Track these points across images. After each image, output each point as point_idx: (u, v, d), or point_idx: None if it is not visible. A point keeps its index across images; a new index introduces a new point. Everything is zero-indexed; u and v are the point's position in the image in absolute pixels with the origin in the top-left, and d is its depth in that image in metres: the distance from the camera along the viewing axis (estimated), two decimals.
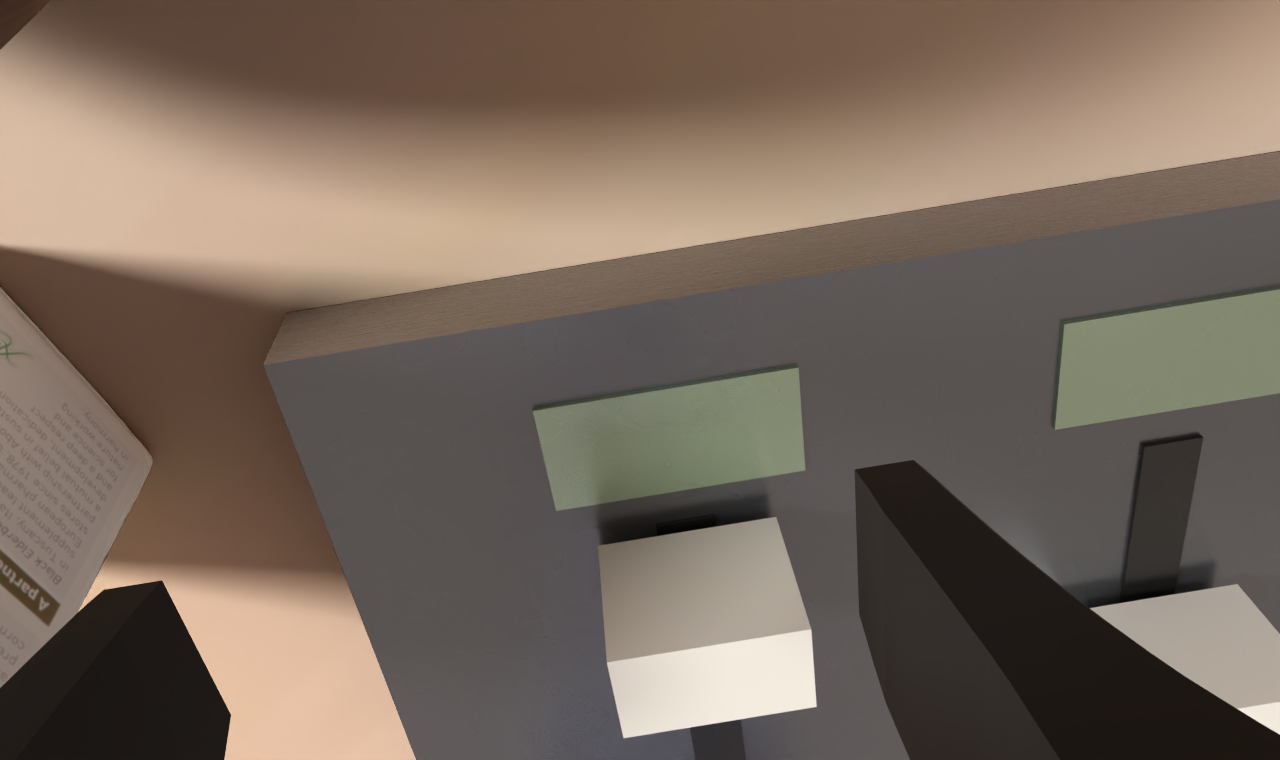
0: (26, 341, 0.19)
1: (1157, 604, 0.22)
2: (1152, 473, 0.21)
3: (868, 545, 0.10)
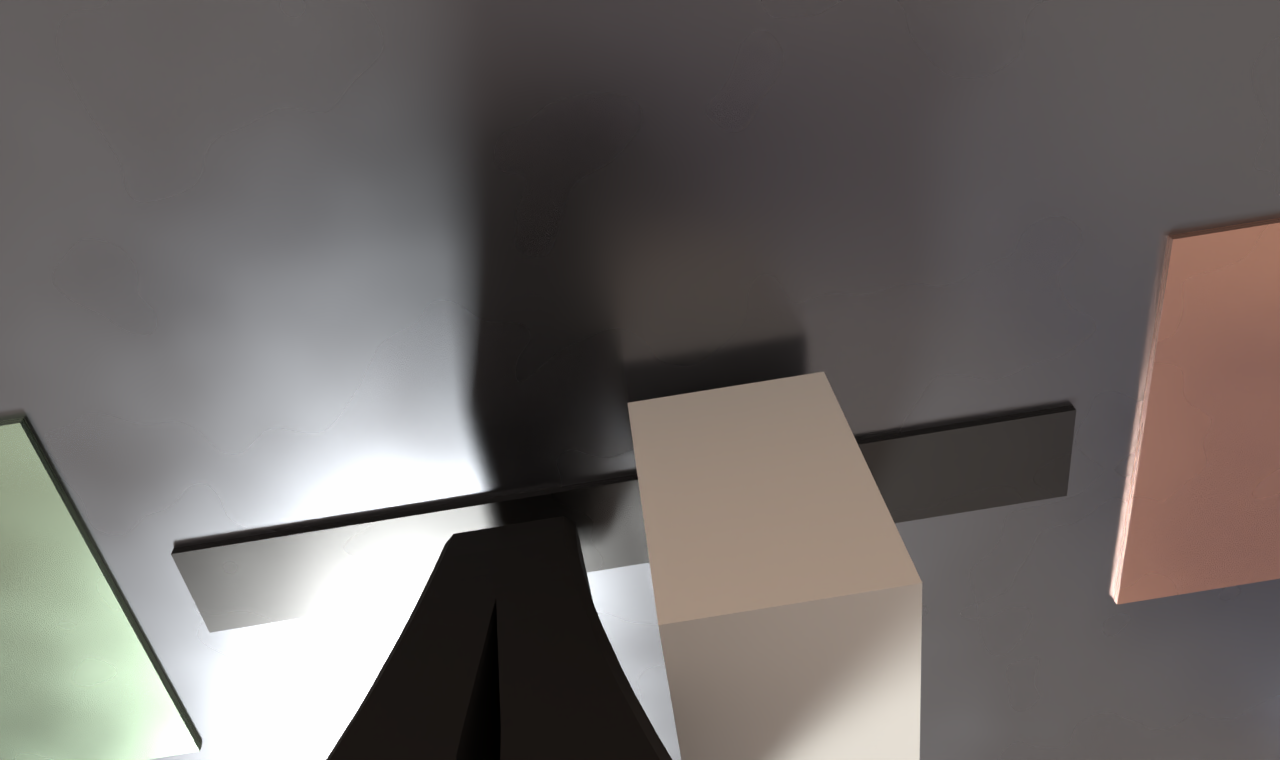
0: None
1: None
2: (273, 595, 0.12)
3: None
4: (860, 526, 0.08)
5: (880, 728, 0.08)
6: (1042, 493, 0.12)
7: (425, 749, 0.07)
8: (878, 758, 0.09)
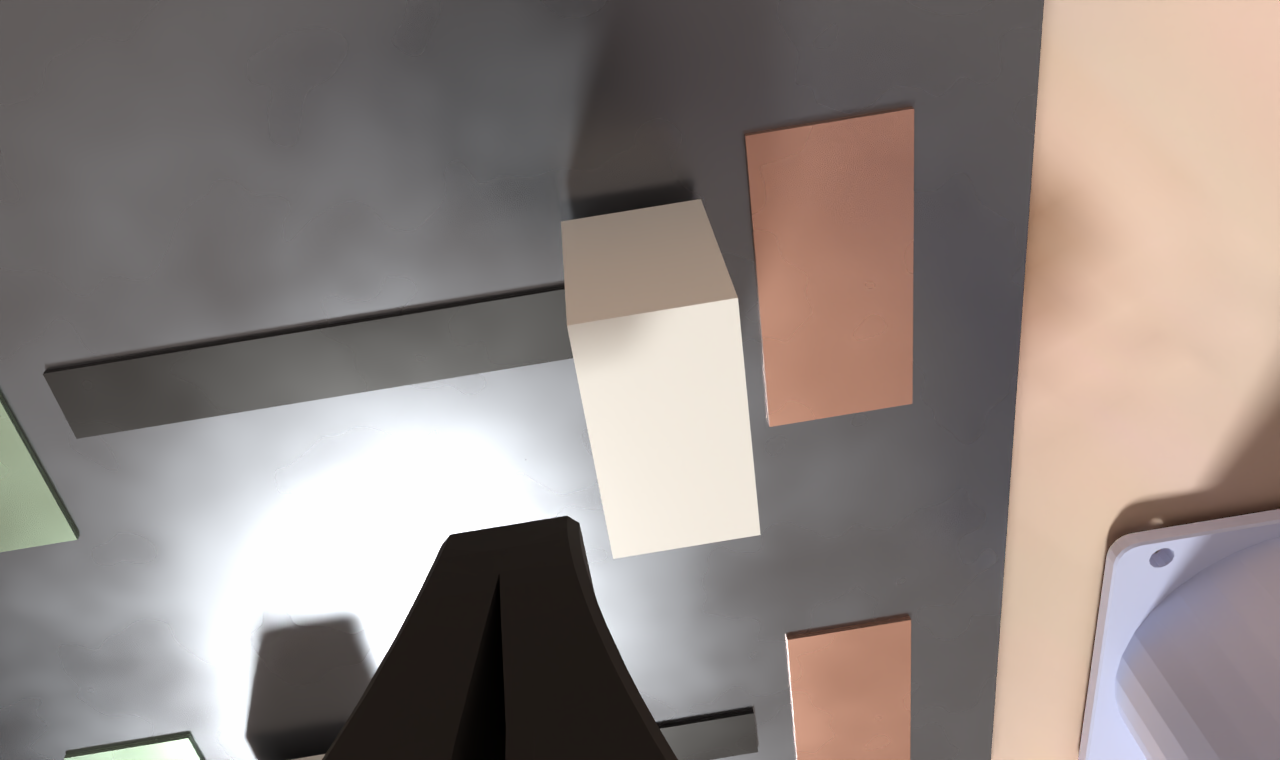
0: None
1: None
2: (122, 409, 0.16)
3: None
4: (705, 274, 0.12)
5: (721, 413, 0.13)
6: None
7: (420, 750, 0.07)
8: (723, 439, 0.13)
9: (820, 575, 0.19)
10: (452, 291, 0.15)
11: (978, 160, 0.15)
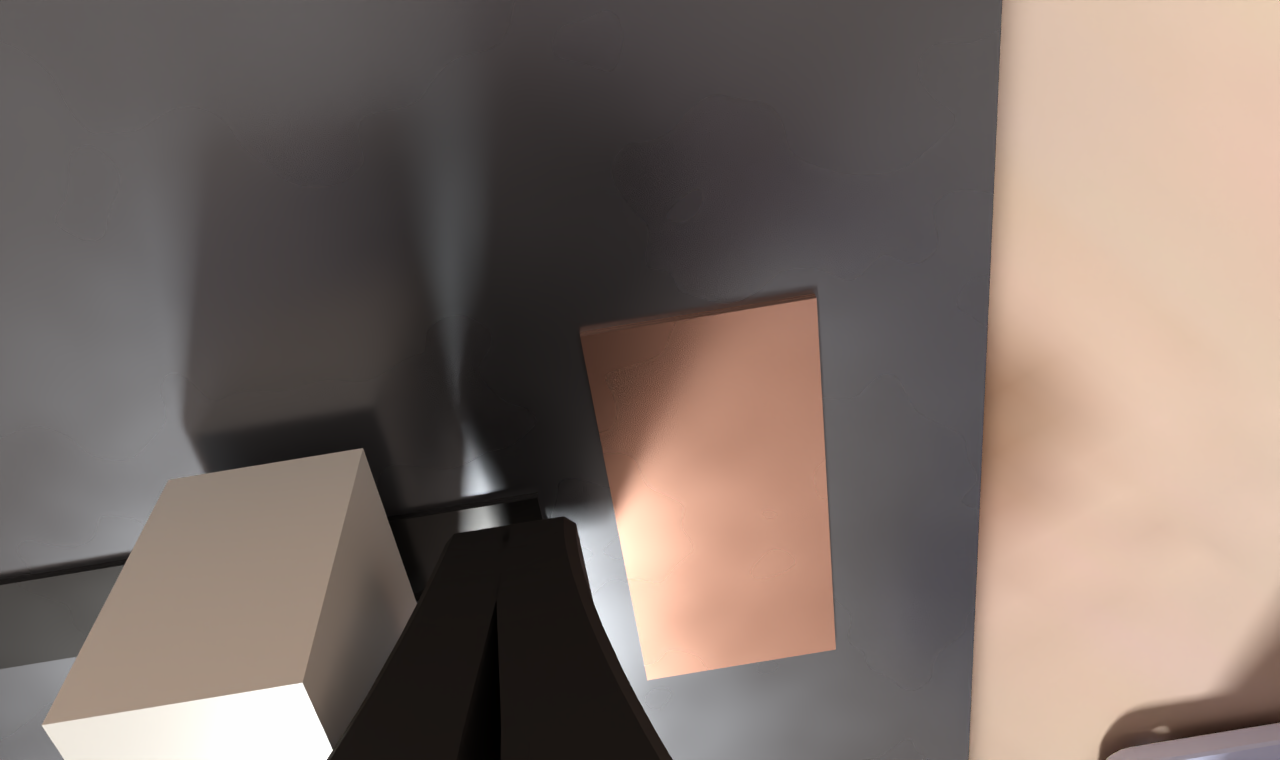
0: None
1: None
2: None
3: None
4: (287, 619, 0.08)
5: None
6: None
7: (426, 749, 0.07)
8: None
9: None
10: None
11: (911, 360, 0.11)
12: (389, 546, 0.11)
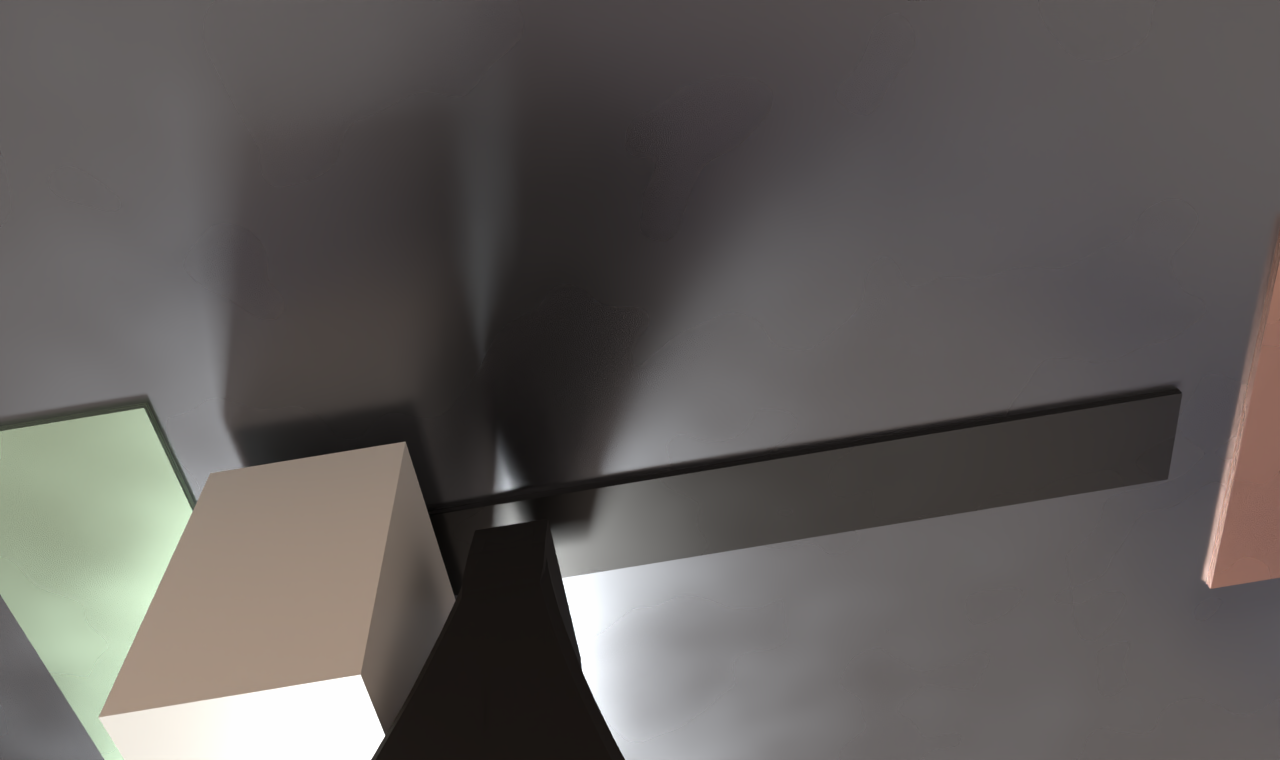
0: None
1: None
2: None
3: None
4: (340, 612, 0.08)
5: None
6: (1144, 477, 0.12)
7: (476, 741, 0.07)
8: None
9: (1217, 757, 0.15)
10: (842, 427, 0.11)
11: None
12: (430, 540, 0.11)
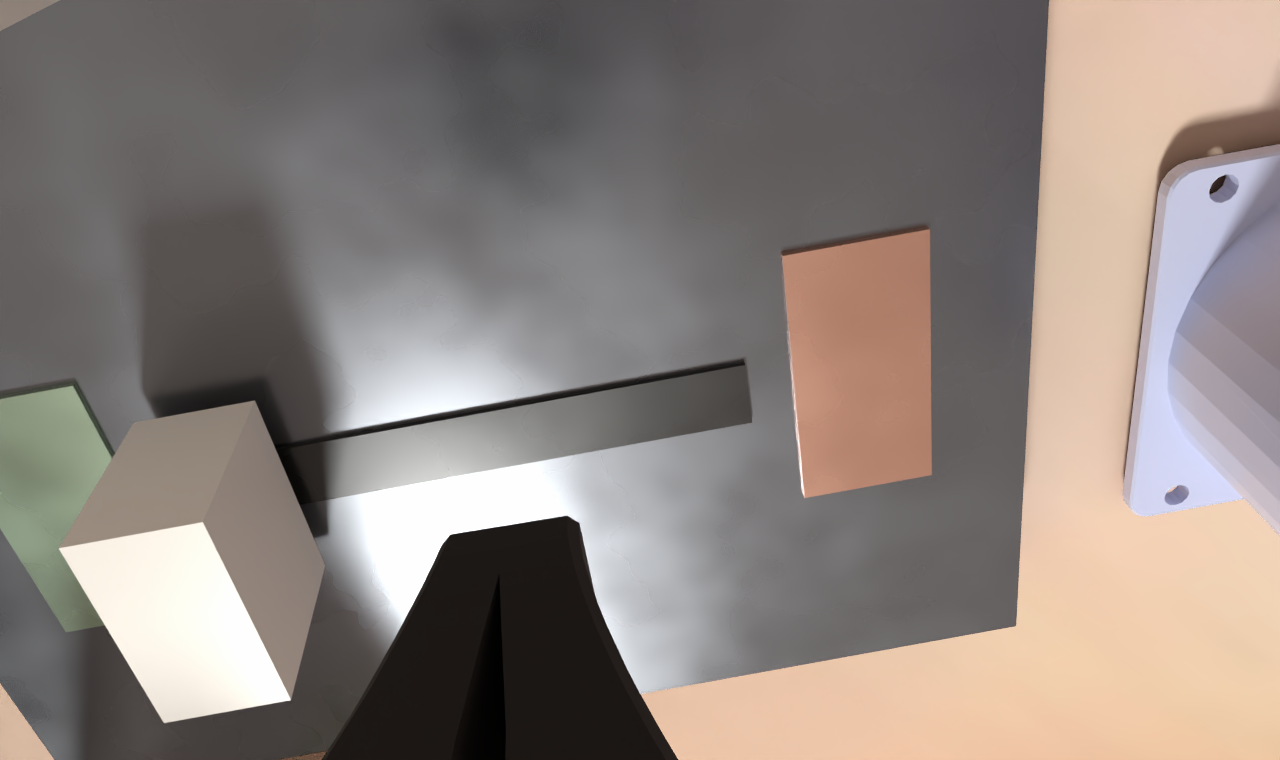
0: None
1: None
2: None
3: None
4: None
5: None
6: None
7: (420, 750, 0.07)
8: None
9: (819, 161, 0.16)
10: None
11: None
12: None
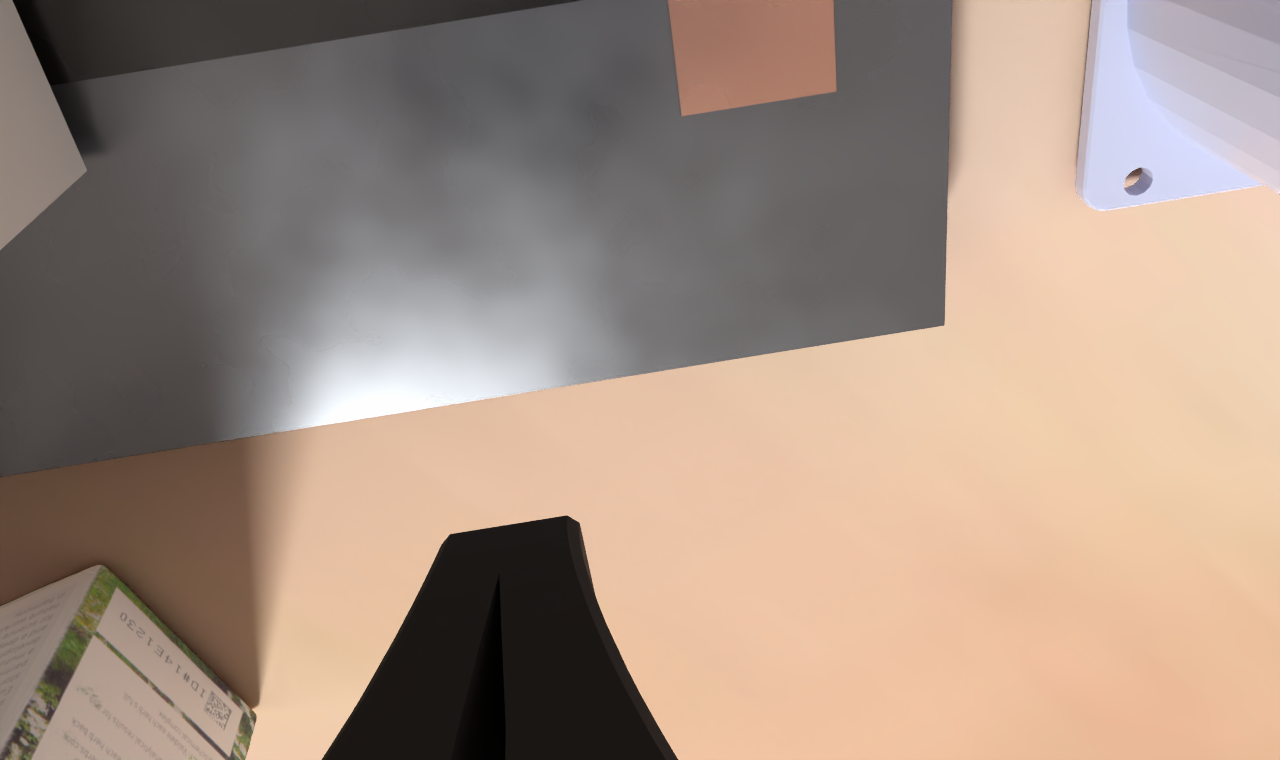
0: None
1: None
2: None
3: None
4: None
5: None
6: None
7: (420, 750, 0.07)
8: None
9: None
10: None
11: None
12: None
